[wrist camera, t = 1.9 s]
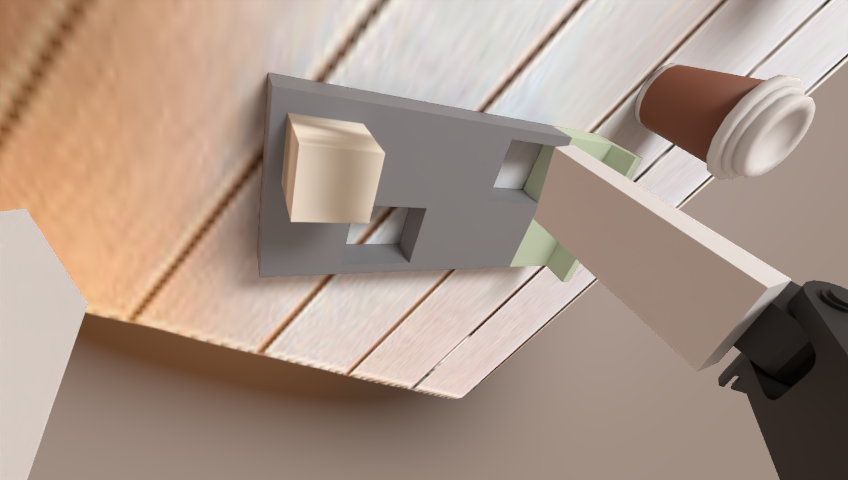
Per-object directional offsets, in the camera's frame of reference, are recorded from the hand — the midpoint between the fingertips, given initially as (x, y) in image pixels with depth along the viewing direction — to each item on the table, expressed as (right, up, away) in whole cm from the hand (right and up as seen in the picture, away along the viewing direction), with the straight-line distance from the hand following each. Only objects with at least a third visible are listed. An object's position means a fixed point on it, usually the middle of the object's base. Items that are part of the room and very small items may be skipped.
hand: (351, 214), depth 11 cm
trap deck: (+4, +4, +26) cm, 27 cm away
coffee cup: (+27, +14, +30) cm, 43 cm away
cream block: (-5, +5, +16) cm, 18 cm away
